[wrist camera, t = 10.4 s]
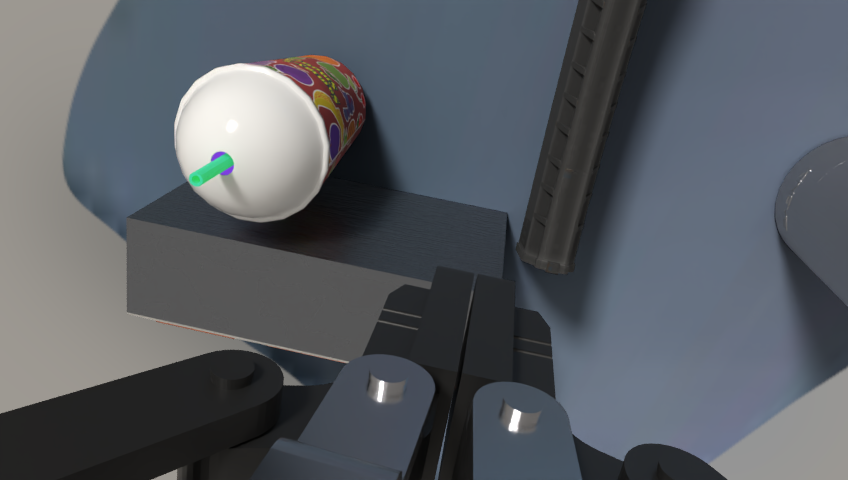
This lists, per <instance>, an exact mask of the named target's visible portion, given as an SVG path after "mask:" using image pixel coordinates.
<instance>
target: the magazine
mask: <svg viewBox="0 0 848 480" xmlns="http://www.w3.org/2000/svg"><path fill="white" fill-rule="evenodd" d="M646 3H647V0H579V1H578V5H577V9H576V13H575V17H574V21H573V25H572V29H571V33H570V37H569V40H568V44H567V48H566V52H565V56H564V60H563V64H562V68H561V72H560V76H559V80H558V84H557V88H556V92H555V96H554V100H553V104H552V108H551V112H550V116H549V120H548V124H547V128H546V132H545V137H544V141H543V145H542V149H541V153H540V157H539V161H538V165H537V169H536V173H535V178H534V182H533V186H532V190H531V194H530V198H529V202H528V206H527V211H526V215H525V219H524V223H523V227H522V231H521V235H520V239H519V243H517V245H516V251H517V253H518V255H519V257H520V259H521V260H522V261H524V262H527V263H529V264H532V265H534V266H535V267H536V268H539V269H543V270H545V272H548V273H552V274H557V275H558V273H561V274H568V272H574V267H575V263H574V260H575V256H576V252H577V248H578V244H579V240H580V236H581V232H582V228H583V227H584V221H585V217H586V213H587V209H588V205H589V202H590V198H591V196H592V190H593V187H594V183H595V179H596V175H597V172H598V169H599V166H600V161H601V157H602V154H603V150H604V147H605V143H606V139H607V137H608V134H609V129H610V125H611V122H612V118H613V115H614V111H615V108H616V106H617V103H618V102H617V101H618V97H619V94H620V90H621V87H622V83H623V80H624V77H625V75H626V69H627V66H628V63H629V59H630V56H631V53H632V49H633V46H634V43H635V41H636V38H637V32H638V29H639V26H640V22H641V19H642V16H643V13H644V10H645V8H646V5H647V4H646Z"/></svg>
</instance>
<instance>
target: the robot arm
mask: <svg viewBox="0 0 848 480" xmlns="http://www.w3.org/2000/svg"><path fill="white" fill-rule="evenodd" d="M775 219H776V223H777V228H778V231H779V233H780V235H781V237H782V239H783V240H784V242H785V243H786V244H787V245H788V246H789V247H790V249H791V250H792V251H793V252H794V253H795V254H796V255H797V256H798V257H799V258H800V259H801V260H802V261H803V262H804V263H805V264H806V265H807V266H808V267H809V268H810V269H811V270H812V271H813V272H814V273H815V274H816V275H817V276H818V277H819V278H820V279H821V280H822V281H823V282H824V283H825V284H826V285H827V286H828V287H829V288H830V289H831V290H832V291H833V292H834V293H835V294H836V295H837V296H838V297H839V298H840V299H841V301H842V302H843V303H844V304H845V305H846V306H847V307H848V137H844V138H839V139H836V140H833V141H831V142H828V143H825V144H823V145H821V146H819V147H818V148H816V149H814V150H813V151H811V152H809V153H808V154H807V155H805V156H804V157H803V158H802V159H801V160H800V161H799V162H797V163H796V164H795V165H794V167H793V168H792V169H791V171H790V172H789V173H788V174H787V176H786V177H785V179H784V181H783V183H782V185H781V187H780V189H779V192H778V196H777V200H776V203H775ZM473 279H474V273H472V272H467V271H462V270H457V269H452V268H448V267H443V266H437V268H436V272H435V275H434V278H433V281H432V285H431V288H430V289H426V288H421V287H417V286H412V285H407V284H404V285H403V286H401V287H400V288H398V289H396V290H395V291H393V292H391V293H390V294H389V295H388V298H387V300H386V302H385V305H384V307H383V310H382V312H381V314H380V316H379V318H378V322H377V323H376V325H375V328H374V330H373V332H372V335H371V337H370V339H369V342H368V344H367V346H366V349H365V351H364V353H363V355H362V356H361V357H358V358H355V359H354V360H352V361H350V362H349V363H347V364H346V365H345V366H344V367H343V369H342V370H341V372H340V373H339V375H338V376H337V378H336V380H335V381H334V382H333V383H329V384H324V385H315V386H286V385H285V386H284V385H283V380H284V377H283V373H282V371H281V369H280V367H279V366H278V365H277V364H276V363H275V362H273V361H272V360H271V359H269V358H267V357H265V356H263V355H260V354H257V353H253V352H249V351H243V350H222V351H215V352H211V353H207V354H203V355H200V356H196V357H193V358H189V359H186V360H183V361H179V362H176V363H172V364H169V365H166V366H162V367H159V368H155V369H152V370H148V371H145V372H141V373H138V374H135V375H131V376H128V377H124V378H121V379H118V380H114V381H111V382H107V383H104V384H100V385H97V386H94V387H91V388H87V389H83V390H80V391H77V392H73V393H70V394H66V395H63V396H59V397H56V398H52V399H49V400H46V401H42V402H39V403H35V404H32V405H29V406H25V407H22V408H18V409H15V410H12V411H8V412H5V413H1V414H0V480H151V479H154V478H156V477H158V476H161V475H164V474H166V473H168V472H171V471H173V470H176V469H177V480H434V479H435V474H436V470H437V465H438V460H439V456H440V451H441V446H442V442H443V437H444V433H445V428H446V423H447V419H448V414H449V419H448V425H447V431H446V436H445V442H444V448H443V454H442V459H441V465H440V471H439V477H438V480H727V479H726V478H725V477H723V476H722V475H721V474H720V473H719V472H717V471H716V470H715V469H714V468H712V467H711V466H710V465H708V464H707V463H706V462H704V461H703V460H701V459H699V458H698V457H696V456H694V455H692V454H690V453H688V452H686V451H683V450H681V449H678V448H675V447H671V446H667V445H662V444H643V445H638V446H636V447H634V448H632V449H631V450H630V451H628V453H627V454H626V456H625V459H624V462H623V461H621V460H618V459H616V458H614V457H612V456H609V455H607V454H605V453H603V452H600V451H598V450H596V449H594V448H592V447H590V446H589V445H587V444H585V443H584V442H582V441H581V440H579V439H578V438H577V437H575V436H574V435H573V434H572V431H571V426H570V422H569V418H568V415H567V413H566V411H565V409H564V408H563V407H562V406H561V404H560V403H559V402H557V401H556V399H555V386H554V372H553V359H552V346H551V332H550V327H549V326H548V324H547V323H546V322H545V320H544V319H543V318H542V316H541V315H540V314H539V313H538V312H536V311H531V310H526V309H521V308H517V307H515V281H510V280H506V279H501V278H496V277H491V276H486V275H482V274H478V275H477V279H476V283H475V287H474V292H473V297H472V301H471V306H470V311H469V315H468V320H467V314H468V308H469V302H470V296H471V290H472V285H473ZM466 320H467V325H466ZM465 325H466V329H465ZM464 331H465V334H464ZM463 337H464V339H463ZM452 395H453V396H452ZM451 400H452V402H451ZM450 405H451V408H450ZM449 409H450V413H449Z"/></svg>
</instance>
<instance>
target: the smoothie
mask: <svg viewBox="0 0 848 480" xmlns="http://www.w3.org/2000/svg"><path fill="white" fill-rule="evenodd" d="M365 115H366V101H365V97H364V93H363V90H362V87H361V85H360V84H359V82H358V80H357V79H356V77H355V76H354V74H353V73H352V72H351V71H350V70H349V69H347V68H346V67H345V66H344V65H343V64H342V63H340V62H338V61H336V60H333V59H331V58H329V57H327V56H317V55H307V56H300V57H292V58H285V59H277V60H269V61H262V62H254V63H246V64H242V63H238V64H233V65H228V66H223V67H218V68H215V69H213V70H212V71H210V72H209V73H207V74H205V75H204V76H202V77H201V78H199V79H198V80H196V81H195V82H194V83H193V85H192V86H191V87H190V89H189V90H188V91H187V93H186V94H185V95H184V97H183V98H182V99H181V102H180V106H179V109H178V112H177V116H176V119H175V123H174V124H175V149H176V155H177V158H178V161H179V165H180V168H181V171H182V174H183V175H184V177H185V178H186V180H187V181H188V183H189V184H190V186H191V187H192V189H193V190H194V192H195V193H197V194H198V195H199V196H200V197H201V198H202V199H204V200H205V201H206V202H207V203H208V204H209V205H211V206H213V207H215V208H216V209H218V210H220V211H222V212H224V213H226V214H228V215H230V216H232V217H235V218H237V219H240V220H247V221H253V222H260V223H263V222H270V221H276V220H283V219H285V218H287V217H289V216H291V215H293V214H295V213H297V212H299V211H300V210H302V209H304V208H305V207H306V206H307V205H308V203H309V202H310V201H311V200H312V199H313V198H314V197H315V196H316V195H317V194H318V193H319V191H320V188H321V186H322V184H323V183H324V181H325V180H326V179H327V177H328V176H329V175H330V173H331V172H332V170H333V169H334V168H335V166H336V165H337V164H338V162H339V161H340V159H341V158H342V157H343V155H344V154H345V152H346V151H347V150H348V148H349V147H350V146H351V144H352V143H353V141H354V140H355V139H356V137H357V136H358V135H359V133H360V131H361V129H362V126H363V124H364V121H365Z"/></svg>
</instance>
